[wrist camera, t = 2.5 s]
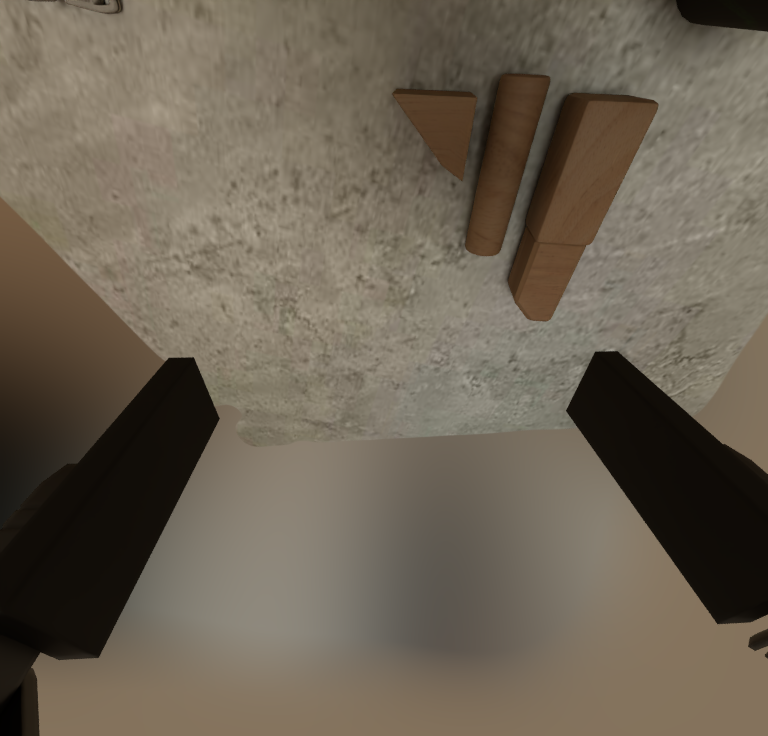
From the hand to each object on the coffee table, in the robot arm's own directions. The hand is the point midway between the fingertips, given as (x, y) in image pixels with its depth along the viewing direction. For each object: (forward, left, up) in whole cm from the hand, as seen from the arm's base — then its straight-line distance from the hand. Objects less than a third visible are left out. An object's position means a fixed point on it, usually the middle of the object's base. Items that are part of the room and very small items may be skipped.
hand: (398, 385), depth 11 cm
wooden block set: (-2, +6, -25) cm, 25 cm away
